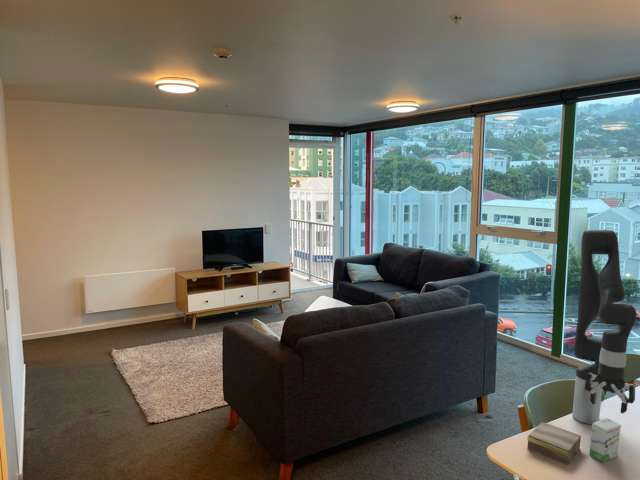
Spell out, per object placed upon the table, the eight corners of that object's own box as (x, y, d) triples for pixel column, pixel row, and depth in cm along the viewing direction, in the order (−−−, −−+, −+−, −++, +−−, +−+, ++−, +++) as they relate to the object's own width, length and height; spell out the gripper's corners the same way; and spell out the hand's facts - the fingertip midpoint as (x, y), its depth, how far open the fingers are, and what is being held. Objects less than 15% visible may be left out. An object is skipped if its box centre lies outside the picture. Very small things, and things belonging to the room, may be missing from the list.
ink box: (602, 462, 157) (605, 430, 155) (588, 455, 161) (591, 422, 159) (618, 456, 160) (621, 424, 159) (604, 448, 165) (607, 417, 163)
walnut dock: (541, 434, 174) (542, 421, 173) (579, 448, 164) (580, 435, 164) (526, 449, 164) (527, 435, 163) (566, 465, 155) (567, 451, 154)
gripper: (640, 365, 154) (635, 412, 156) (591, 353, 164) (587, 397, 166) (634, 371, 149) (629, 419, 151) (585, 359, 158) (581, 404, 161)
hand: (607, 408), depth 158 cm, fingers open, 8 cm apart
